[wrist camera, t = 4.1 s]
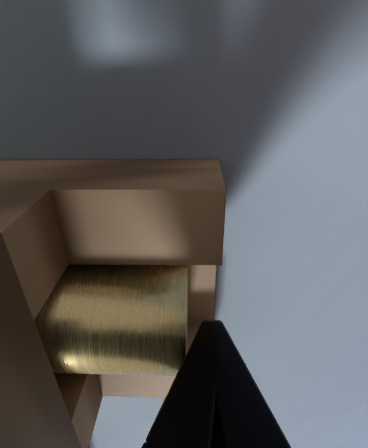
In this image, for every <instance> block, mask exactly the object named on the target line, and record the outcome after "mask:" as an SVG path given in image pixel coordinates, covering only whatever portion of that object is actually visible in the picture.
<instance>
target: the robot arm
mask: <svg viewBox="0 0 368 448" xmlns="http://www.w3.org/2000/svg"><path fill="white" fill-rule="evenodd" d="M142 448H291V446H290V445H289V443H288V441H287V439H286V437H285V435H284V434H283V432H282V430H281V428H280V426H279V424H278V423H277V421H276V419H275V417H274V415H273V414H272V412H271V410H270V408H269V406H268V404H267V403H266V401H265V399H264V397H263V395H262V394H261V392H260V390H259V388H258V386H257V384H256V383H255V381H254V379H253V377H252V375H251V373H250V372H249V370H248V368H247V366H246V364H245V363H244V361H243V359H242V357H241V355H240V353H239V352H238V350H237V348H236V346H235V344H234V343H233V341H232V339H231V337H230V335H229V333H228V332H227V330H226V328H225V326H224V324H223V323H222V321H220V320H203V321H202V322H201V324H200V326H199V328H198V330H197V332H196V334H195V337H194V339H193V341H192V343H191V345H190V347H189V349H188V351H187V353H186V356H185V358H184V360H183V362H182V364H181V366H180V368H179V370H178V372H177V375H176V377H175V379H174V381H173V383H172V385H171V387H170V389H169V392H168V394H167V396H166V398H165V400H164V402H163V404H162V406H161V408H160V411H159V413H158V415H157V417H156V419H155V421H154V423H153V425H152V428H151V430H150V432H149V434H148V436H147V438H146V442H145V443H144V444H143V446H142Z"/></svg>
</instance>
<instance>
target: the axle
mask: <svg viewBox="0 0 368 448" xmlns="http://www.w3.org/2000/svg"><path fill="white" fill-rule="evenodd" d="M34 322H35V324H36V327H37V330H38V332H39V335H40V338H41V341H42V343H43V346H44V349H45V351H46V354H47V357H48V359H49V362H50V365H51V367H52V370H53V373H71V374H111V375H151V376H176V375H177V372H178V370H179V368H180V366H181V364H182V362H183V360H184V358H185V356H186V353H187V336H188V267H186V266H109V265H68V266H67V268H66V270H65V271H64V273H63V274H62V276H61V278H60V279H59V281H58V282H57V284H56V286H55V287H54V289H53V291H52V292H51V294H50V295H49V297H48V299H47V300H46V302H45V303H44V305H43V307H42V308H41V310H40V312H39V313H38V315H37V316H36V318H35V320H34Z"/></svg>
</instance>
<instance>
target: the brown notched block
mask: <svg viewBox="0 0 368 448" xmlns="http://www.w3.org/2000/svg"><path fill="white" fill-rule="evenodd" d="M225 204H226V186H225V182H224V178H223V174H222V170H221V166H220V162H219V159H160V160H0V448H88V447H89V444H90V440H91V436H92V433H93V429H94V425H95V422H96V418H97V414H98V411H99V407H100V403H101V400H102V396H129V397H166V396H167V394H168V392H169V389H170V387H171V385H172V383H173V381H174V379H175V377H176V376H151V375H111V374H71V373H53V370H52V367H51V365H50V362H49V359H48V357H47V354H46V351H45V349H44V346H43V343H42V341H41V338H40V335H39V332H38V330H37V327H36V324H35V322H34V320H35V318H36V316H37V315H38V313H39V312H40V310H41V308H42V307H43V305H44V303H45V302H46V300H47V299H48V297H49V295H50V294H51V292H52V291H53V289H54V287H55V286H56V284H57V282H58V281H59V279H60V278H61V276H62V274H63V273H64V271H65V270H66V268H67V266H68V265H109V266H186V267H188V336H187V351H188V349H189V347H190V345H191V343H192V341H193V339H194V337H195V334H196V332H197V330H198V328H199V326H200V324H201V322H202V321H203V320H214V300H215V280H216V265H222V254H223V237H224V221H225Z"/></svg>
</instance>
